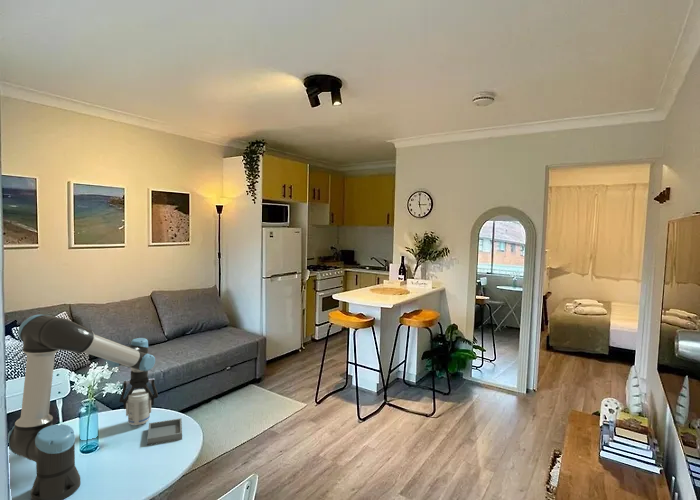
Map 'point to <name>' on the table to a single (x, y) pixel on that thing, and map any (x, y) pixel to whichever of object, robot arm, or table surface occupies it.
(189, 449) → the table surface
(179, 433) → the tray
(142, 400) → the supplement tub
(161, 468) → the table surface
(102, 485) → the table surface
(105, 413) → the table surface
